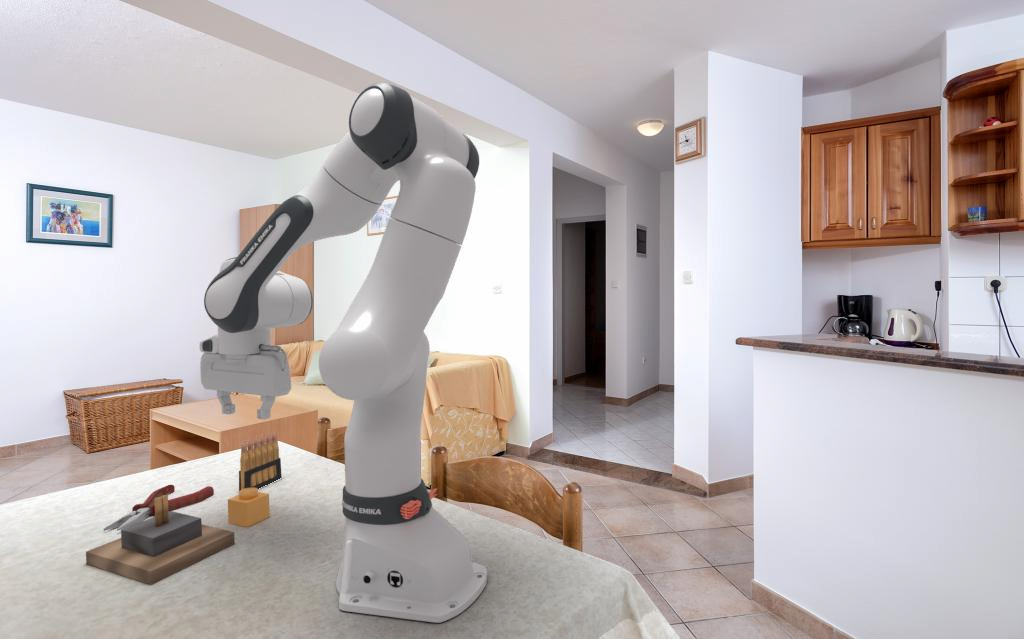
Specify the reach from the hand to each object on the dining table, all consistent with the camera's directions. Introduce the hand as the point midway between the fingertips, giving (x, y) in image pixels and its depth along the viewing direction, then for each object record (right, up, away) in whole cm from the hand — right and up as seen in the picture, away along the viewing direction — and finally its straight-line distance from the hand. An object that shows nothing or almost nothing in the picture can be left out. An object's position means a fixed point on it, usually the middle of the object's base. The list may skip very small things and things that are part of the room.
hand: (245, 416), depth 99 cm
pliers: (-22, -21, +7) cm, 31 cm away
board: (-7, -21, -12) cm, 25 cm away
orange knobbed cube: (0, -20, +1) cm, 20 cm away
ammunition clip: (-6, -20, +19) cm, 28 cm away
